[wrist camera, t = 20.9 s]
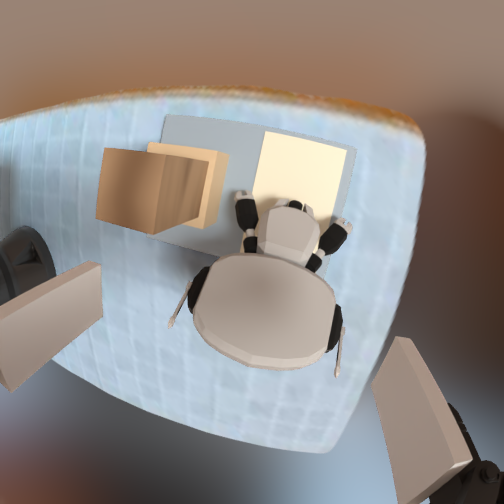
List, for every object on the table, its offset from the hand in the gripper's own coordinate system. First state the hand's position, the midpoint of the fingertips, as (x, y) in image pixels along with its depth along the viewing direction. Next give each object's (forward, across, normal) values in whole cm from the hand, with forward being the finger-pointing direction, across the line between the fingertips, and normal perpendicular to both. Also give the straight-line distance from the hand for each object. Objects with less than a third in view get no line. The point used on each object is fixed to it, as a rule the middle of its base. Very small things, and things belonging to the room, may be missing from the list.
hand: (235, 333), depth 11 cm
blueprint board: (+19, -4, +4) cm, 20 cm away
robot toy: (+17, +2, +4) cm, 18 cm away
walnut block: (+14, -9, +4) cm, 17 cm away
